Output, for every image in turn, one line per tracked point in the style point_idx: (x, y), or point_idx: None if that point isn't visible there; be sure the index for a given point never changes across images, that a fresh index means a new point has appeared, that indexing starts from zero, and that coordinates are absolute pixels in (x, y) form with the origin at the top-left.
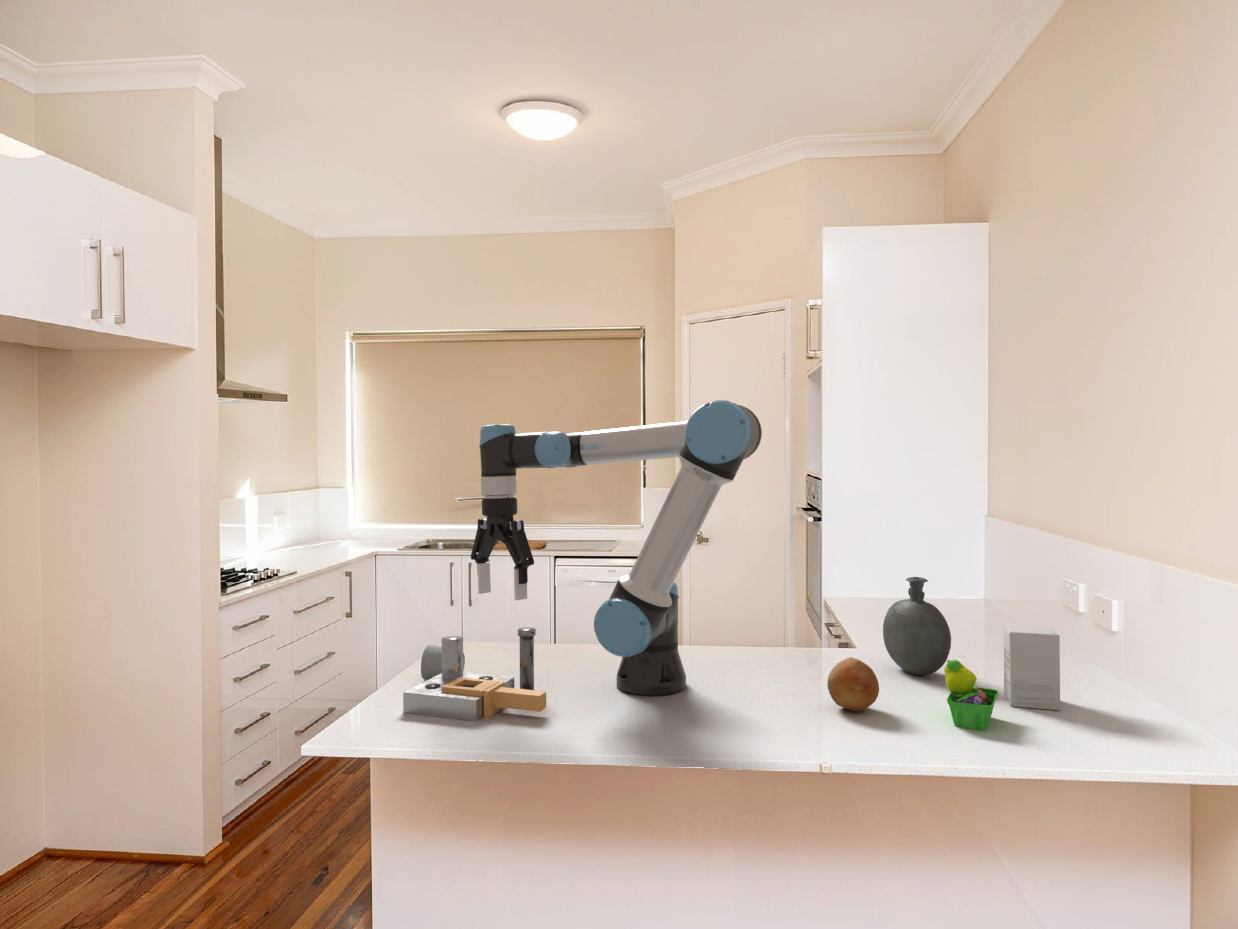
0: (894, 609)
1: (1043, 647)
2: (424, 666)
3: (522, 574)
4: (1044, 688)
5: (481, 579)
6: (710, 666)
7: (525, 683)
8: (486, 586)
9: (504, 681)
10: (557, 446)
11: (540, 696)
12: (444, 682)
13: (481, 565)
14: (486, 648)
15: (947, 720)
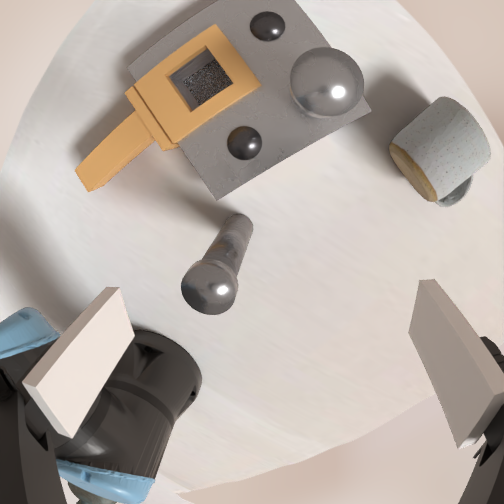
0: (96, 499)
1: None
2: (437, 100)
3: (29, 372)
4: None
5: (447, 333)
6: (192, 440)
7: (224, 224)
8: (423, 332)
9: (163, 149)
10: None
11: (76, 172)
12: (281, 57)
13: (483, 398)
14: (500, 318)
15: None
